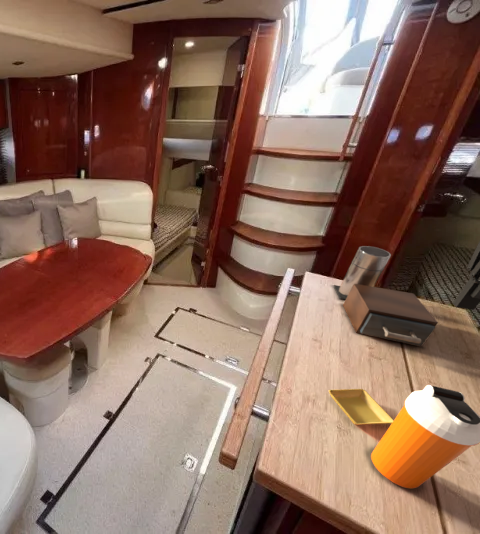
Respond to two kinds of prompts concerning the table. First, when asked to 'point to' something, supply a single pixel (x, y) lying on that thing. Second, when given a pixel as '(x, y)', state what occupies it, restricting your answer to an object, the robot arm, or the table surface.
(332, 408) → the table surface
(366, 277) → the metal cup
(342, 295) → the coaster
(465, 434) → the shaker bottle
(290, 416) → the table surface
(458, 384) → the table surface
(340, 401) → the yellow square tray
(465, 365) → the table surface
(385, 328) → the drawer
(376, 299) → the cabinet
